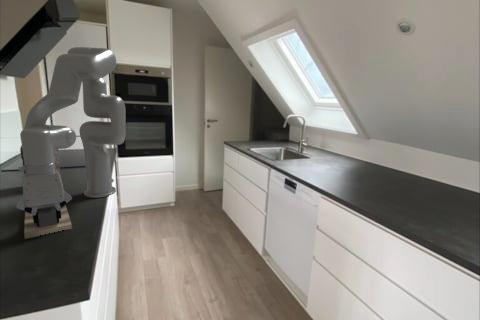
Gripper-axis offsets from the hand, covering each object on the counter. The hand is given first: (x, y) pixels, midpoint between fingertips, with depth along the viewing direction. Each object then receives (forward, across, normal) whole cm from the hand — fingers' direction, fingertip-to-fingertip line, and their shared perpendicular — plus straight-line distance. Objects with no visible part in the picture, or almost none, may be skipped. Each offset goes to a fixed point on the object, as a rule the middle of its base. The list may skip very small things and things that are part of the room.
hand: (48, 222), depth 86 cm
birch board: (+2, 0, +7) cm, 8 cm away
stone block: (+2, 0, +46) cm, 46 cm away
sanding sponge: (0, 0, 0) cm, 0 cm away
